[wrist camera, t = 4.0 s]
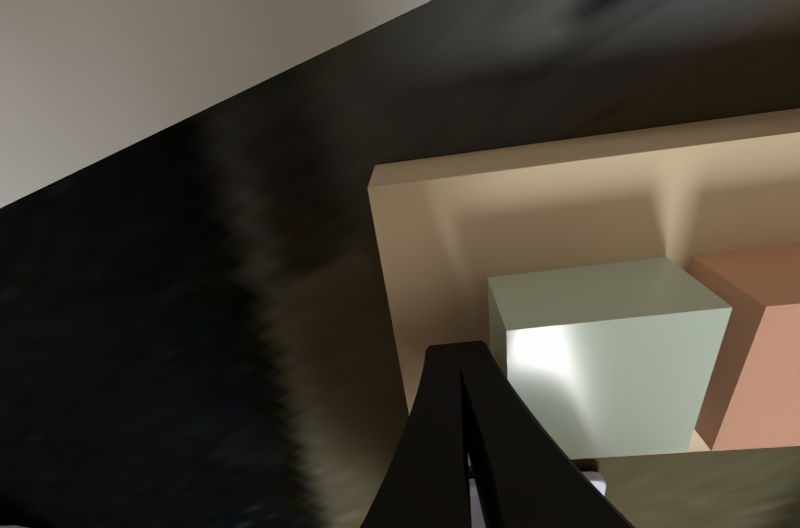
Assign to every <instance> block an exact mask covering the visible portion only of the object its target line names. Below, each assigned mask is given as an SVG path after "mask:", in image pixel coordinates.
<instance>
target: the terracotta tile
mask: <svg viewBox="0 0 800 528" xmlns="http://www.w3.org/2000/svg"><path fill="white" fill-rule="evenodd" d="M688 274H690V275H691V276H692V277H693V278H695V279H696V280H697V281H699V282H700V283H701V284H703V285H704V286H705V287H707V288H708V289H709V290H711V291H712V292H713V293H715V294H716V295H717V296H718V297H720V298H721V299H722V300H724V301H725V302H726V303H728V304H729V305H730V306H732V307H733V308H732V311H731V314H730V317H729V321H728V324H727V327H726V330H725V333H724V336H723V339H722V343H721V346H720V349H719V352H718V355H717V358H716V362H715V365H714V368H713V371H712V374H711V377H710V381H709V384H708V387H707V390H706V393H705V396H704V399H703V403H702V406H701V409H700V412H699V415H698V418H697V422H696V425H695V428H694V429H695V431H696V432H697V433H698V435H699V436H700V437H701V438H702V440H703V441H704V442H705V444H706V445H707V446H708V447H709V449H710V450H711V451H722V450H738V449H753V448H769V447H785V446H800V245H792V246H782V247H773V248H763V249H754V250H744V251H735V252H725V253H716V254H706V255H697V256H692V260H691V264H690V268H689V272H688Z"/></svg>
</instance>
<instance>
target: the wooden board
mask: <svg viewBox="0 0 800 528" xmlns="http://www.w3.org/2000/svg"><path fill="white" fill-rule="evenodd" d="M367 189H368V194H369V200H370V205H371V211H372V216H373V221H374V227H375V232H376V238H377V243H378V249H379V254H380V260H381V265H382V271H383V276H384V282H385V287H386V292H387V298H388V303H389V309H390V314H391V320H392V325H393V331H394V336H395V342H396V347H397V352H398V358H399V363H400V369H401V374H402V380H403V385H404V391H405V396H406V402H407V407H408V412H409V415H410V412H411V409H412V406H413V403H414V400H415V397H416V394H417V390H418V386H419V383H420V379H421V375H422V371H423V366H424V360H425V350H426V349H427V348H428V347H429V346H430V345H438V344H449V343H459V342H469V341H480V340H482V341H483V342H485V343H486V344H487V346H488V348H489V350H490V352H491V344H490V324H489V303H488V283H487V277H495V276H504V275H512V274H521V273H529V272H538V271H547V270H555V269H564V268H572V267H581V266H590V265H598V264H607V263H615V262H624V261H633V260H641V259H650V258H659V257H667V258H669V259H670V260H671V261H672V262H674V263H675V264H676V265H678V266H679V267H680V268H682V269H683V270H684V271H686V272H687V273H688V272H689V268H690V264H691V260H692V256H697V255H706V254H716V253H725V252H735V251H744V250H754V249H763V248H773V247H782V246H792V245H800V108H796V109H789V110H781V111H774V112H766V113H759V114H752V115H744V116H737V117H729V118H722V119H714V120H707V121H700V122H692V123H685V124H677V125H670V126H662V127H655V128H648V129H640V130H633V131H625V132H618V133H610V134H603V135H595V136H588V137H581V138H573V139H566V140H558V141H551V142H543V143H536V144H529V145H521V146H514V147H506V148H499V149H491V150H484V151H476V152H469V153H462V154H454V155H447V156H439V157H432V158H424V159H417V160H410V161H402V162H395V163H387V164H380V165H375V167H374V170H373V173H372V176H371V179H370V182H369V185H368V188H367ZM697 451H711V450H710V449H709V447H708V446H707V445H706V444H705V442H704V441H703V440H702V438H701V437H700V436H699V435H698V433H697V432H696V431H695V429H694V431H693V434H692V437H691V441H690V444H689V447H688V450H687V451H679V452H665V453H681V452H697ZM665 453H651V454H665ZM637 455H650V454H637ZM624 456H634V455H624ZM610 457H618V456H610ZM596 458H602V457H596ZM582 459H587V458H582ZM570 460H571V459H570ZM468 463H469V466H471V463H470V458H469V454H468Z"/></svg>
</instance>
